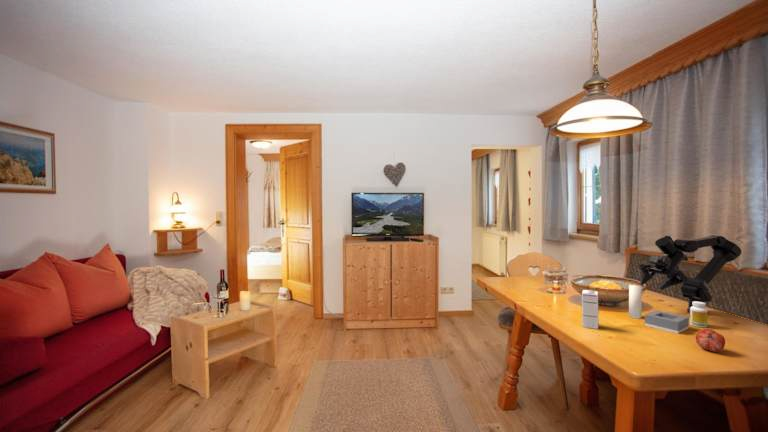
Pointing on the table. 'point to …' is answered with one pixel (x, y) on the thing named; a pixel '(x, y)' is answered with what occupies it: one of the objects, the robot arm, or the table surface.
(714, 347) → the pomegranate
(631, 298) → the white cylinder
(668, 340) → the table surface
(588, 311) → the syrup box
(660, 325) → the socket
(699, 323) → the supplement bottle
